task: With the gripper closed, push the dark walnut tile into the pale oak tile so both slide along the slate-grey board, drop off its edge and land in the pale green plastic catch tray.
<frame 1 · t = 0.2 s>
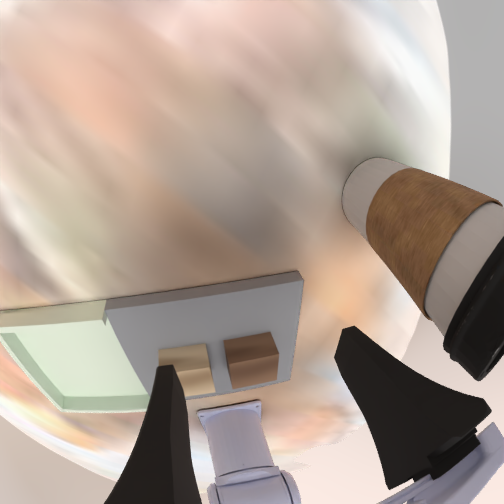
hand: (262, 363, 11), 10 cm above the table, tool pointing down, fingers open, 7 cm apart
walnut tile: (247, 350, 24), point 1 cm above the table, touching slate board
catch tray: (77, 360, 22), on the table
coffee cup: (372, 192, 20), on the table
oak tile: (186, 360, 23), point 1 cm above the table, touching slate board
slate board: (212, 346, 24), on the table
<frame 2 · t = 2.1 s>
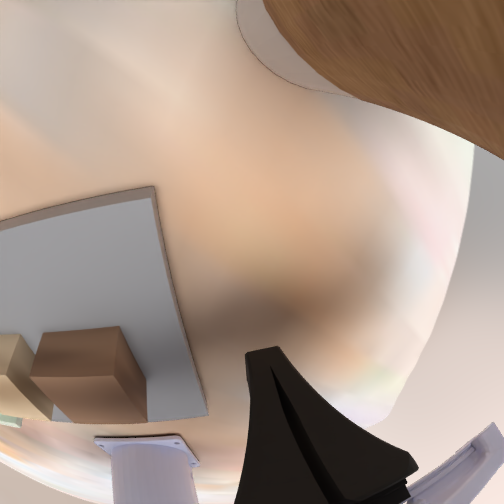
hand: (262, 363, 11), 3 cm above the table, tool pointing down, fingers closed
walnut tile: (95, 359, 11), point 1 cm above the table, touching slate board
coffee cup: (315, 19, 7), on the table
oak tile: (14, 361, 10), point 1 cm above the table, touching slate board
slate board: (51, 344, 11), on the table
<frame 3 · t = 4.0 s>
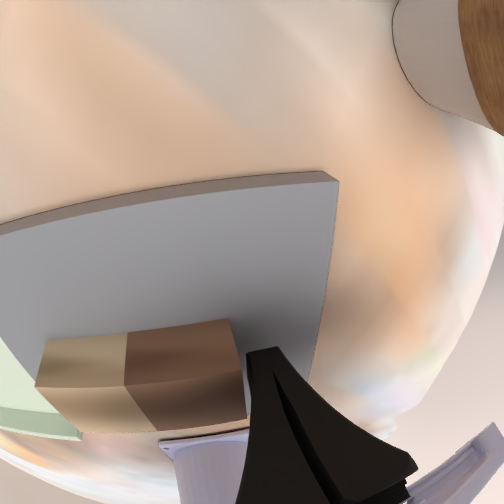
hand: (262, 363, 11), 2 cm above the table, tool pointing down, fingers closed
walnut tile: (186, 357, 11), point 1 cm above the table, touching gripper, oak tile, slate board
coffee cup: (435, 49, 8), on the table
oak tile: (102, 366, 11), point 1 cm above the table, touching slate board, walnut tile
slate board: (153, 342, 12), on the table
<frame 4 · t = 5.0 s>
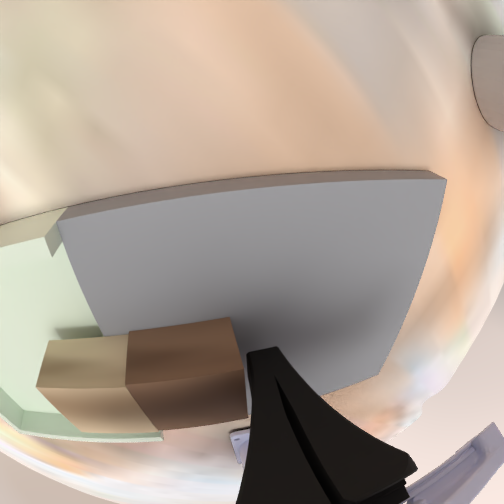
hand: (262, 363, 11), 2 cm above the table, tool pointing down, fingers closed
walnut tile: (187, 356, 11), point 1 cm above the table, touching gripper, oak tile
catch tray: (28, 351, 11), on the table
coffee cup: (491, 81, 9), on the table
oak tile: (104, 367, 11), point 1 cm above the table, touching walnut tile
slate board: (277, 321, 13), on the table
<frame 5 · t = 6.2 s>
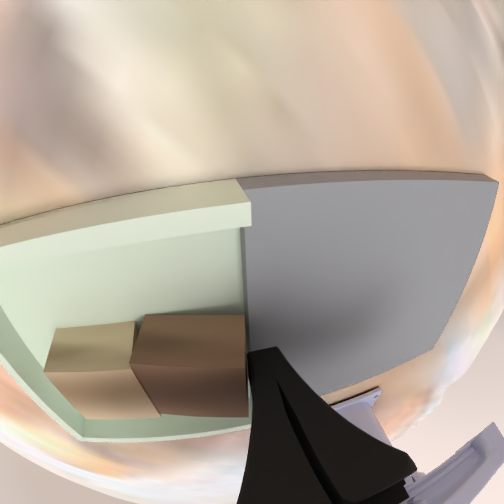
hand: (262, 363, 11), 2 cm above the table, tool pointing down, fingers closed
walnut tile: (200, 347, 12), point 1 cm above the table, tilted 13°, touching catch tray, gripper, oak tile
catch tray: (120, 345, 12), on the table
oak tile: (108, 354, 11), resting on catch tray, touching walnut tile
slate board: (378, 296, 14), on the table
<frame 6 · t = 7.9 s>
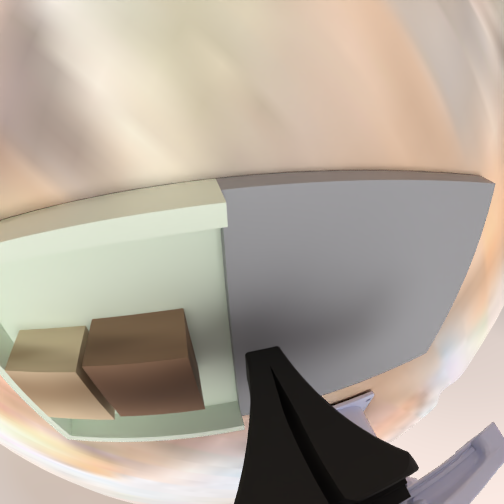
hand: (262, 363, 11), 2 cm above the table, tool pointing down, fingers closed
walnut tile: (148, 346, 11), resting on catch tray
catch tray: (105, 345, 11), on the table
oak tile: (67, 356, 11), resting on catch tray
slate board: (368, 299, 14), on the table
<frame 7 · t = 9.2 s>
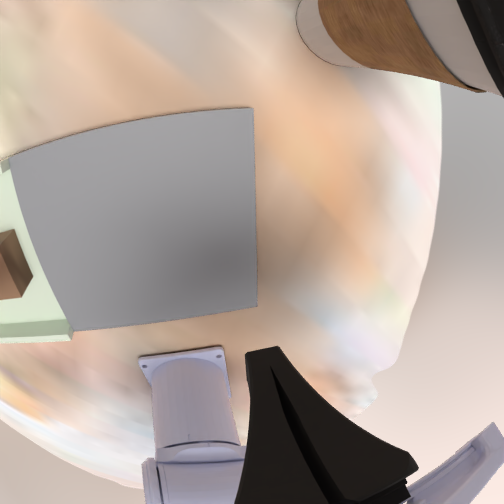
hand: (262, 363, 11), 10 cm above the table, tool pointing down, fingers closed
walnut tile: (5, 257, 15), resting on catch tray
coffee cup: (336, 27, 13), on the table
slate board: (138, 231, 17), on the table
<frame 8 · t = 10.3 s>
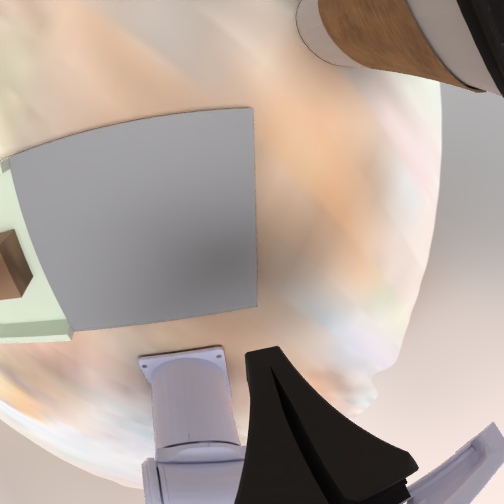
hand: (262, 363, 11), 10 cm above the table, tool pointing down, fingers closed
walnut tile: (5, 257, 15), resting on catch tray
coffee cup: (336, 27, 13), on the table
slate board: (138, 231, 17), on the table
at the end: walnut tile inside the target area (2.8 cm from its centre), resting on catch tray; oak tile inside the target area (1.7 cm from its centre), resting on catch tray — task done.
